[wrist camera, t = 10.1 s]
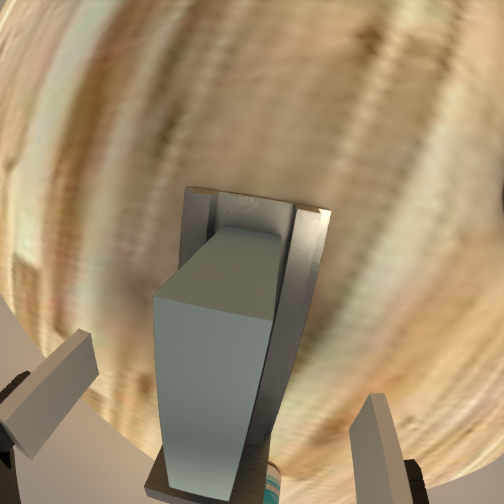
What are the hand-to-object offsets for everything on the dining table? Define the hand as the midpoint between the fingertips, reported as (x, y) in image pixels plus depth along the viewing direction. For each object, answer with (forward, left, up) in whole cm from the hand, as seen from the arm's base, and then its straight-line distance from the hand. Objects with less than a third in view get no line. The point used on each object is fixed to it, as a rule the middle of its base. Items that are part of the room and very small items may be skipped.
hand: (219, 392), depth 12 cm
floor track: (+2, 0, -7) cm, 7 cm away
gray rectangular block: (0, 0, -6) cm, 6 cm away
